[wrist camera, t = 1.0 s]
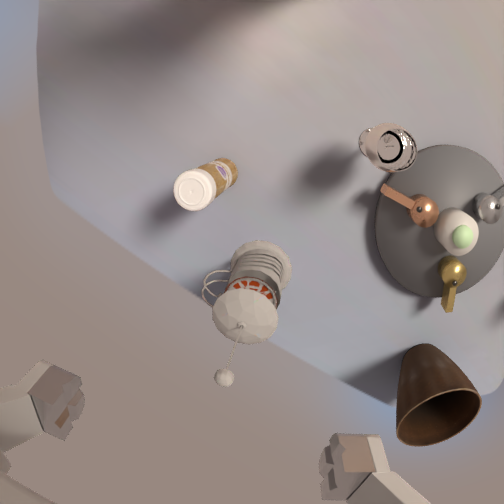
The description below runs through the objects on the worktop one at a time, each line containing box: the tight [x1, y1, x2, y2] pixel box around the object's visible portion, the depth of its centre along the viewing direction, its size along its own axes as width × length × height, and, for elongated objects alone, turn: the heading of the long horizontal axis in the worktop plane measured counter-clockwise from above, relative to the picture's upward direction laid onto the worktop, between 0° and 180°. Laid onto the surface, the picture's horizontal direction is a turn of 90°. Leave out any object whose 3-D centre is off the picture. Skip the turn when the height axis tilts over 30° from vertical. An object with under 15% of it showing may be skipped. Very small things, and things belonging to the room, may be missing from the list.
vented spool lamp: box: [201, 240, 292, 387], centre depth 39 cm, size 10×12×25 cm
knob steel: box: [473, 186, 504, 224], centre depth 36 cm, size 8×4×3 cm, turn 128°
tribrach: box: [375, 145, 504, 297], centre depth 39 cm, size 24×24×7 cm
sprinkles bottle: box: [173, 158, 238, 211], centre depth 40 cm, size 5×5×13 cm
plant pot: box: [396, 344, 482, 446], centre depth 45 cm, size 15×15×16 cm
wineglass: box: [359, 123, 417, 173], centre depth 35 cm, size 6×6×12 cm
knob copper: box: [380, 183, 439, 228], centre depth 39 cm, size 8×4×3 cm, turn 68°
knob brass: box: [438, 255, 467, 313], centre depth 42 cm, size 8×4×3 cm, turn 8°
